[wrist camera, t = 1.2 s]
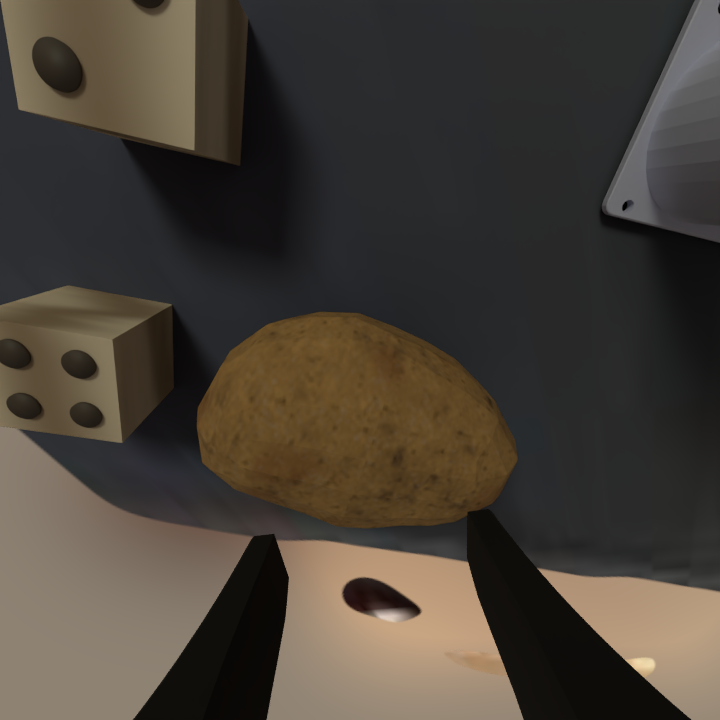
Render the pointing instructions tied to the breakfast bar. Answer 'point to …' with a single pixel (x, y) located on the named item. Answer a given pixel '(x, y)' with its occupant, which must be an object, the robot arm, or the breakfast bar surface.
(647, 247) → the breakfast bar surface
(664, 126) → the robot arm
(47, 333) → the pip block four
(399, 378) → the potato
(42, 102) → the pip block two
